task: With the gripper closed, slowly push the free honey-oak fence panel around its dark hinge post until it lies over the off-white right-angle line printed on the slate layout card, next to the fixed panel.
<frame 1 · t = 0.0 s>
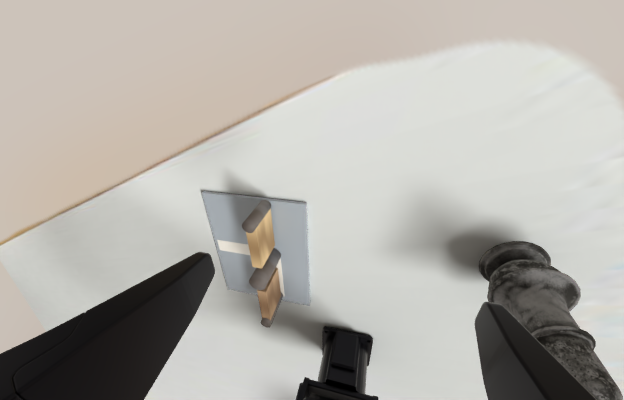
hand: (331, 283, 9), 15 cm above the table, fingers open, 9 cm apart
layout card: (261, 251, 30), on the table
fixed fence: (274, 251, 29), resting on layout card
fence panel: (260, 234, 25), point 3 cm above the table, hinge at 0.0°
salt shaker: (512, 263, 23), on the table
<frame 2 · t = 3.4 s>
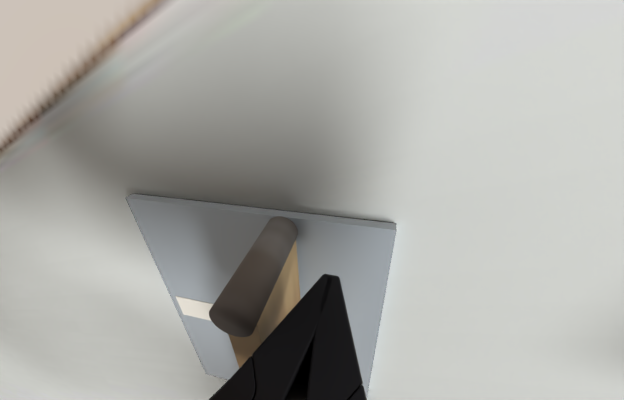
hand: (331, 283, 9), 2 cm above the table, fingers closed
layout card: (269, 321, 14), on the table
fence panel: (270, 313, 9), point 3 cm above the table, hinge at 0.1°, touching gripper
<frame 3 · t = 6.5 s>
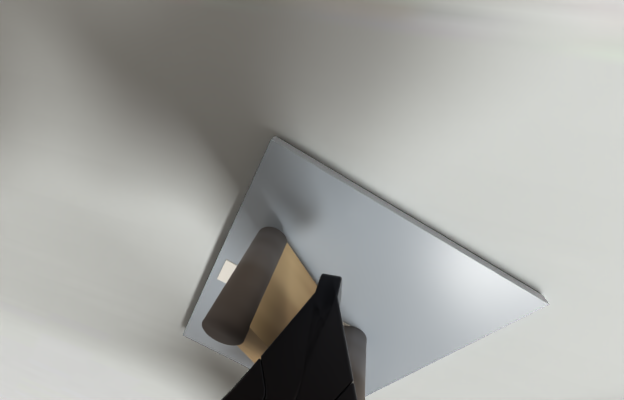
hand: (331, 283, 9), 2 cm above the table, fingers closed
layout card: (316, 316, 13), on the table
fixed fence: (348, 328, 13), resting on layout card
fence panel: (287, 320, 9), point 3 cm above the table, hinge at 57.3°, touching gripper
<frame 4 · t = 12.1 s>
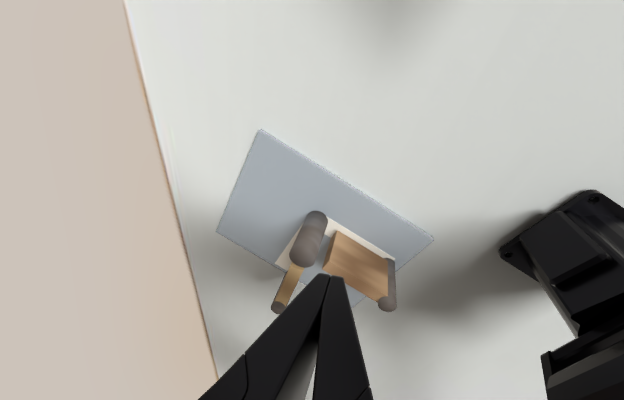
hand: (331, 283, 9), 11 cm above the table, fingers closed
layout card: (312, 232, 22), on the table
fixed fence: (318, 217, 21), resting on layout card
fence panel: (292, 275, 21), point 3 cm above the table, hinge at 99.5°
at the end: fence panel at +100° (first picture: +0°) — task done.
